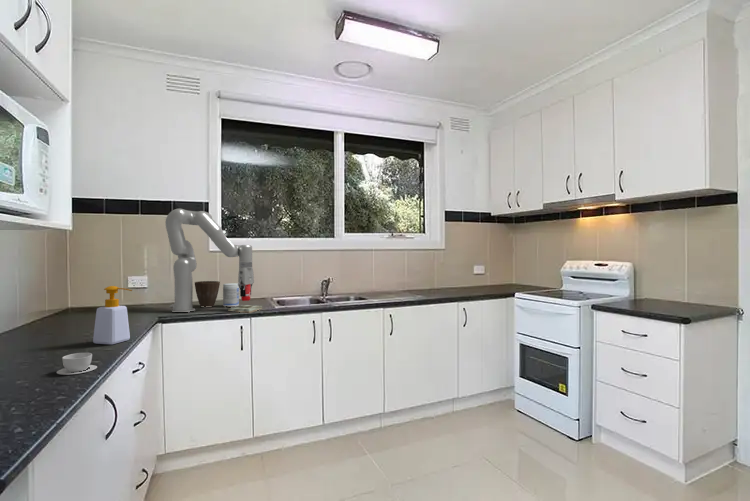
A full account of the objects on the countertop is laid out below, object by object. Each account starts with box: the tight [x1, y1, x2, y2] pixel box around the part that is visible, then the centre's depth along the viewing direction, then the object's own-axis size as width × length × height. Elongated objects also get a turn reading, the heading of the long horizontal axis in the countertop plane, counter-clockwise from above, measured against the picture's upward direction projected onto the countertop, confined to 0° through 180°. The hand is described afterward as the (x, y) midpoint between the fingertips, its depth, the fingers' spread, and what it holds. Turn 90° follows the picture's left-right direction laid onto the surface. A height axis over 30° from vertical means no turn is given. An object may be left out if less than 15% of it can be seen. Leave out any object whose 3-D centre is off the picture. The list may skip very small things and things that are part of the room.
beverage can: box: [240, 284, 251, 302], centre depth 245 cm, size 5×5×12 cm
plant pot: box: [194, 280, 221, 307], centre depth 259 cm, size 15×15×16 cm
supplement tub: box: [222, 282, 240, 306], centre depth 261 cm, size 10×10×15 cm
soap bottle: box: [92, 285, 133, 346], centre depth 161 cm, size 10×14×22 cm
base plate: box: [227, 304, 263, 314], centre depth 245 cm, size 14×14×2 cm
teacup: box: [56, 352, 98, 376], centre depth 125 cm, size 10×10×5 cm
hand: (245, 295), depth 245 cm, fingers closed on beverage can, 5 cm apart
